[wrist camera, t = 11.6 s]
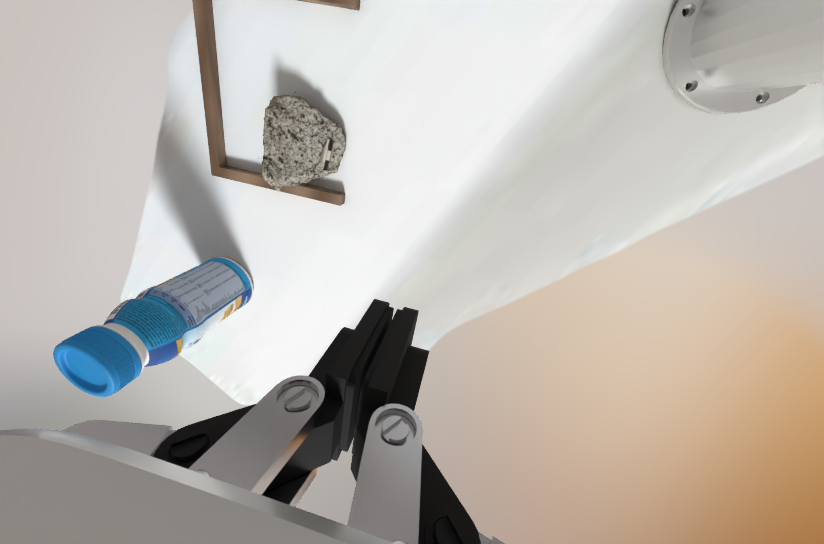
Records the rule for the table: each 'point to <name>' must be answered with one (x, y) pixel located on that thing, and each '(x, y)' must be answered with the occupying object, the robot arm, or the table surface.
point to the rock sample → (299, 143)
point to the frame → (214, 113)
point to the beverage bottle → (153, 326)
